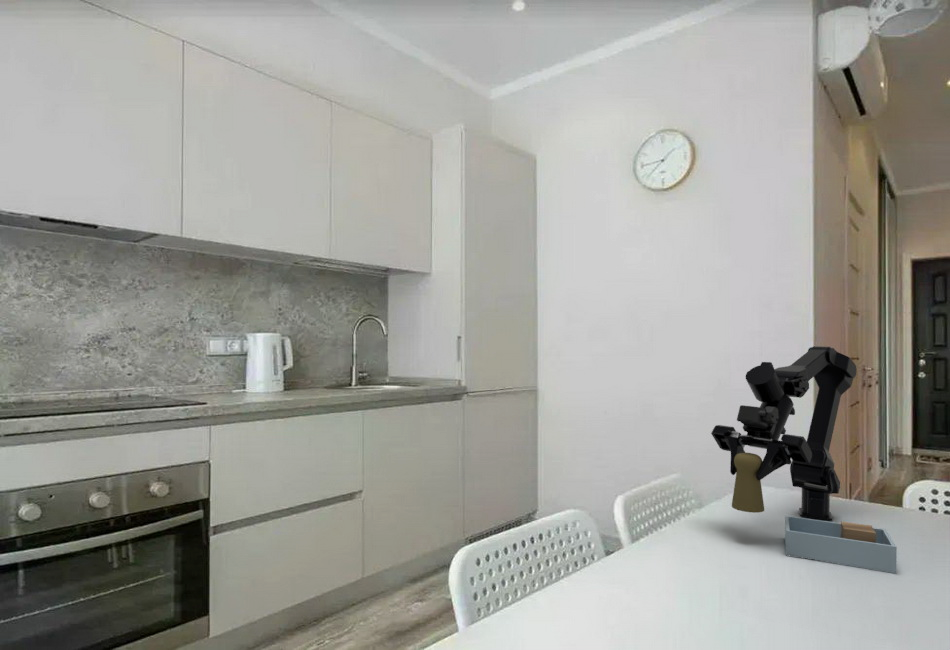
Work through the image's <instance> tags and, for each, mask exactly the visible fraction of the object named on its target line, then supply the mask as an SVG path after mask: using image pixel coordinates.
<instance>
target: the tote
mask: <svg viewBox="0 0 950 650" xmlns="http://www.w3.org/2000/svg"><path fill="white" fill-rule="evenodd" d="M784 521H785V522H784V543H785V544H784V545H785V547H784V548H785V556H787V555H790V556H789V557H793V556H797V557H796V558H799V557H803V558H802V559H805V558H809V559H808V560H811V559H815V560H814V561H817V560H821V561H820V562H823V561H828V562H827V563H830V562H833V563H832V564H836V563H837V564H838V565H845V566H850V567H854V568H855V567H857V568H862V569H866V568H867V569H868V570H872V571H873V570H874V571H879V572H886V573H892V574H897V545H896V543H895V542H894V540H893V539H892V537H891V536H890V533H889V532H888V530H887V529H885V528H878V527H873V529H874V531H875V532H876V543H872V542H865V541H858V540H851V539H845V538H841V522H834V521H829V520H822V519H815V518H807V517H798V516H797V517H796V516H789V515H785V516H784Z"/></svg>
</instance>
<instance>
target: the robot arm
mask: <svg viewBox="0 0 950 650" xmlns="http://www.w3.org/2000/svg"><path fill="white" fill-rule="evenodd" d="M857 371H858V370H857V365H856V363H855V362H854V361H853V360H852V359H851V357H849V356H848V355H845V354H843V353H841V352H839V351H837V350H836V349H835V348H834V347H831V346H818V345H817V346H811V347H809V348H808V349H807V352H806V353H805V354H803V355H802V356H800V357H799V358H798V359H797V360H795V361H794V362H793V363H792V364H790V365H788V366H781V367H777V368H775V367H774V364H773V363H772V362H771V361H761V363H760V365H757V366H754V367H753V368H751V369H749V370H748V371H746V374H745V380H746V383H747V385H748V386H749V388H750V390H751V392H752V393H753V396H754V397H755V399H756V400H757V401H759V402H761V404H760V406H759V407H758V406H752V405H745V404H744V405H740V406H739V409H738V412H737V417H736V421H737V422H740V423H741V424H742V425H743V426H742V429H743V431H744V432H746V433H747V434H744V433H743V434H742V433H740V432H739V431H737V430H736V429H735V427H734V426H729V425H728V426H727V425H722V424H717V425H714V427H713V429H712V431H711V432H710V433H711V437H713V439H714V441H715V442H716V444H717V445H718V447H719V449H721V450H722V451H726V452H730V467H729V468H730V470H729V472H730V474H731V475H732V476H734V475H735V476H736V473H737V468H736V466H735V464H734V458H735V456H736V455H737V454H738V453H746V451H745V449H744V448H745V446H748V447H751V448H755V449H757V448H758V449H763V450H766V452H765V455H764V457H763V460H762V463H761V465H760V467H759V470H758V472H757V475H756V478H757V480H760V481H761V480H763V479H764V478H765V477H767V476H769V475H771V474H772V473H773V472H775V471H776V470H778V469H780V468H782V467H784V466H786V465H789V466H790V468H789V470H790V478H791V483H792V487H795V488H801V507H799V509H798V510H799V511H798V512H799V516H800V517H801V518H808V519H815V520H823V521H833V519H834V518H833V516H832V512H831V511H830V505H831V503H830V502H831V495H832V494H834V495H835V494H839V493H840V489H841V481H840V479H839V477H838V475H837V473H836V470H835V462H834V460H833V458H832V455H831V453H830V446H831V443H832V439H833V433H834V430H835V424H836V420H837V417H838V410H839V407H840V406H839V405H840V402H841V397H842V395H844V394H845V392H846V391H848V390H849V389H850V388H851V387H852V385H853V381H854V379H855V378H856V376H857V373H858V372H857ZM813 378H814V381H815V382H816V385H817V387H818V391H817V394H816V395H817V397H816V400H815V404H814V409H813V412H812V417H811V421H810V426H809V431H808V435H807V437H806V438H805V437H804V436H801V435H795V434H788V433H787V430H786V427H785V425H786V423H787V420H788V419H789V416H790V415H791V416H794V415H796V410H795V407H794V405H795V404H794V402H793V399H792V398H799V399H800V398H802V397H804V396H805V395H806V393H808V391H809V389H810V380H812V379H813ZM786 433H787V434H786ZM781 435H782V436H781ZM780 437H781V438H780ZM779 439H780V440H779Z"/></svg>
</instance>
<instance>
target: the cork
mask: <svg viewBox="0 0 950 650" xmlns="http://www.w3.org/2000/svg"><path fill="white" fill-rule="evenodd" d="M762 461H763V460H762V457H761V456H760V455H759V454H757V453H753V452H752V453H751V452H745V453H738V454H737V455H736V456H735V458H734V464H735V466H736V468H737V472H736V473H735V481H734V487H733V493H732V502H731V508H732V509H734V510H737V511H739V512H746V513H755V514H756V513H763V512H765V506H764V497H763V491H762V490H763V489H762V481H761V480H757V478H756V475H757V472H758V470H759V467H760V465H761V463H762Z"/></svg>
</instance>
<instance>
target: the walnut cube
mask: <svg viewBox="0 0 950 650" xmlns="http://www.w3.org/2000/svg"><path fill="white" fill-rule="evenodd" d="M840 523H841V538H845V539H851V540H858V541H865V542H872V543H876V532H875V531H874V529H873V528H874V527H873V526H872V525H869V524H863V523H861V524H860V523H853V522H846V521H840Z"/></svg>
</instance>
